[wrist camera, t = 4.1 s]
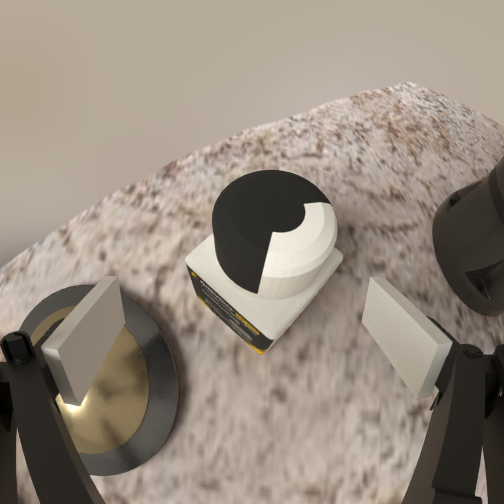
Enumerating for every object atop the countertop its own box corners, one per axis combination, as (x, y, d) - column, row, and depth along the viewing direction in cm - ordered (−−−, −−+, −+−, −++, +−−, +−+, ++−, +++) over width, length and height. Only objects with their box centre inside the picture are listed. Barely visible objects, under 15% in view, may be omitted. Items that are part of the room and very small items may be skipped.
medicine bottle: (195, 296, 24) (166, 211, 13) (254, 239, 27) (268, 134, 16) (262, 357, 22) (290, 319, 11) (318, 292, 25) (378, 210, 14)
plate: (183, 293, 24) (180, 287, 23) (180, 488, 17) (177, 494, 15) (29, 283, 23) (21, 277, 22) (15, 444, 16) (5, 445, 14)
